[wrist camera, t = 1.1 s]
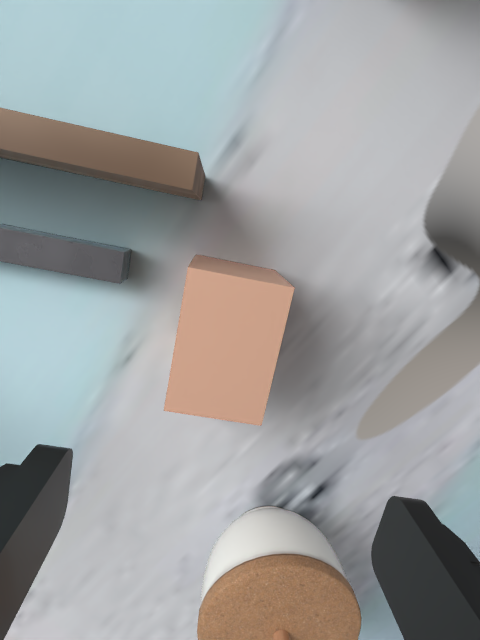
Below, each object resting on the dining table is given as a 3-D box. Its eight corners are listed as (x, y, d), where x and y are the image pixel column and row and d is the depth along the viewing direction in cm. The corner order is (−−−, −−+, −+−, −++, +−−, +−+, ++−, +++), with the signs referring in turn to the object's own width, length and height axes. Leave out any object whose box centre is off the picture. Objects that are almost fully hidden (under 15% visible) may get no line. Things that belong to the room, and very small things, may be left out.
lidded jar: (346, 557, 33) (394, 685, 24) (234, 603, 34) (240, 744, 25) (300, 461, 30) (336, 565, 21) (179, 513, 31) (164, 635, 22)
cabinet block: (195, 254, 26) (187, 267, 19) (274, 270, 26) (294, 287, 19) (177, 363, 27) (163, 410, 21) (250, 375, 28) (261, 425, 21)
